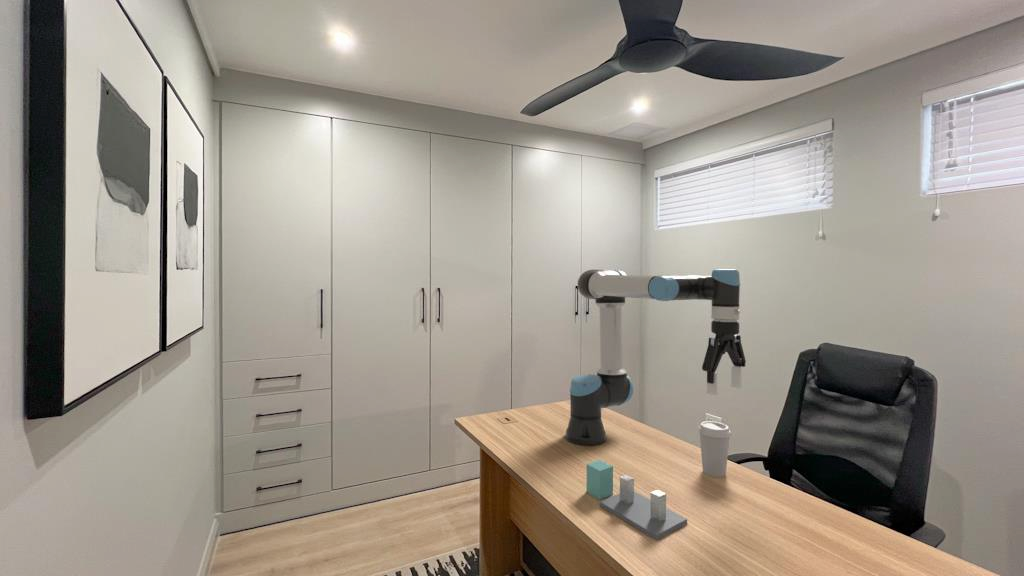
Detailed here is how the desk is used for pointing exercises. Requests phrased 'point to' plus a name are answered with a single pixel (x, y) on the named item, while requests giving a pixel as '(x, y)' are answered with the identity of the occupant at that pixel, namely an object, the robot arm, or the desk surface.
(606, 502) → the slate board
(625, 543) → the desk surface
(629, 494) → the post
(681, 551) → the desk surface
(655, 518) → the post
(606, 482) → the tall teal pillar
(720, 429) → the coffee cup
